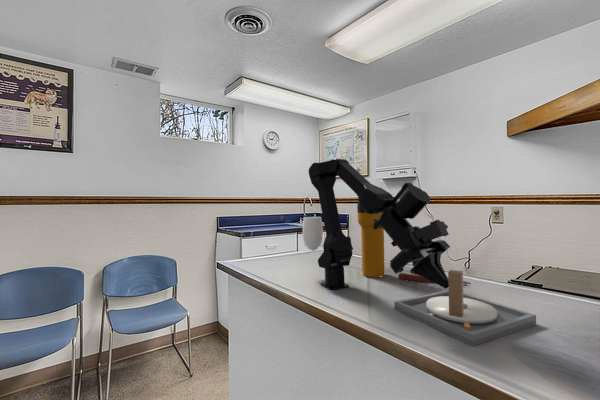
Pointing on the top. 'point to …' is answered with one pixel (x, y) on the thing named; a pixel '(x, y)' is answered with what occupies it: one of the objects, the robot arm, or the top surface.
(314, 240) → the grey rounded cylinder
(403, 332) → the top surface
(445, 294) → the dial board
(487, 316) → the dial
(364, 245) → the flashlight
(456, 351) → the top surface
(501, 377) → the top surface
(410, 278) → the pliers
